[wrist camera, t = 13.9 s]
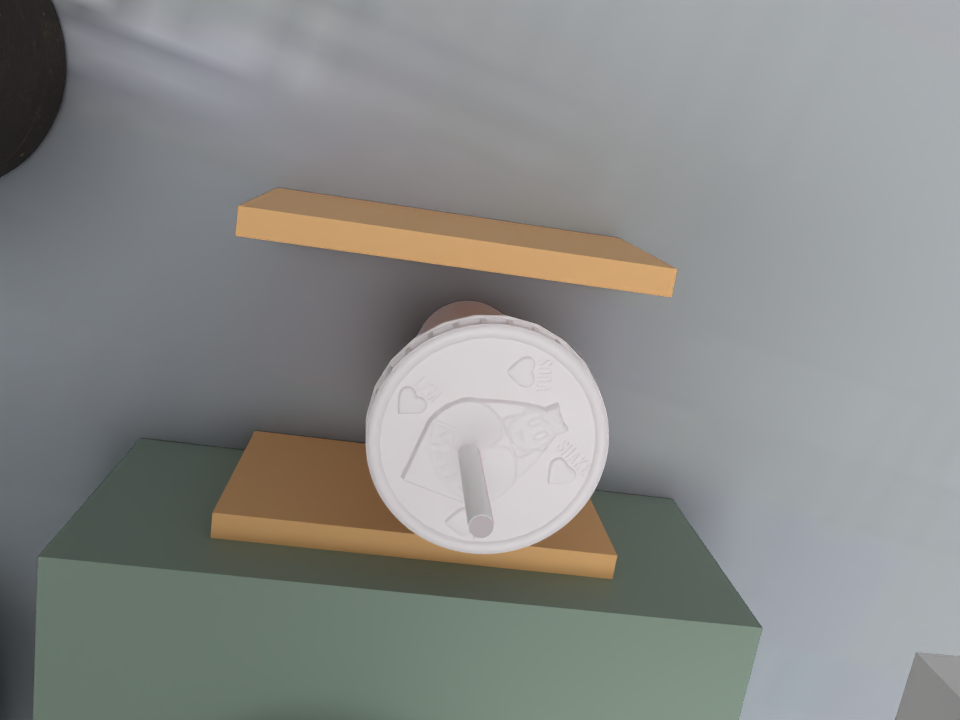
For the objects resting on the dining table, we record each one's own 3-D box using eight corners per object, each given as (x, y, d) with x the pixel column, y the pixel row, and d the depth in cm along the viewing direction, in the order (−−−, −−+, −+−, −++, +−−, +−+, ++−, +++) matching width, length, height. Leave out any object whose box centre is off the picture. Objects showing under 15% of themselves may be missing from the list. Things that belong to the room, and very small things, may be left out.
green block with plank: (118, 806, 35) (-84, 1274, 21) (156, 169, 29) (-94, 212, 15) (596, 839, 38) (710, 1283, 23) (727, 254, 31) (995, 363, 17)
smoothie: (350, 301, 31) (301, 436, 17) (519, 236, 31) (603, 321, 17) (417, 458, 33) (419, 693, 19) (577, 397, 32) (695, 591, 19)
